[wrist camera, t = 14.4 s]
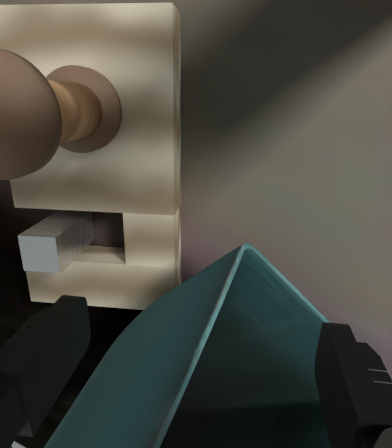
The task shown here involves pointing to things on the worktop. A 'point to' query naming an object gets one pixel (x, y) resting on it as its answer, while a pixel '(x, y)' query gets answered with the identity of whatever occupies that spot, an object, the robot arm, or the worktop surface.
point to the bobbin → (52, 113)
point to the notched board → (111, 146)
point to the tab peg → (56, 241)
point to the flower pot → (208, 368)
